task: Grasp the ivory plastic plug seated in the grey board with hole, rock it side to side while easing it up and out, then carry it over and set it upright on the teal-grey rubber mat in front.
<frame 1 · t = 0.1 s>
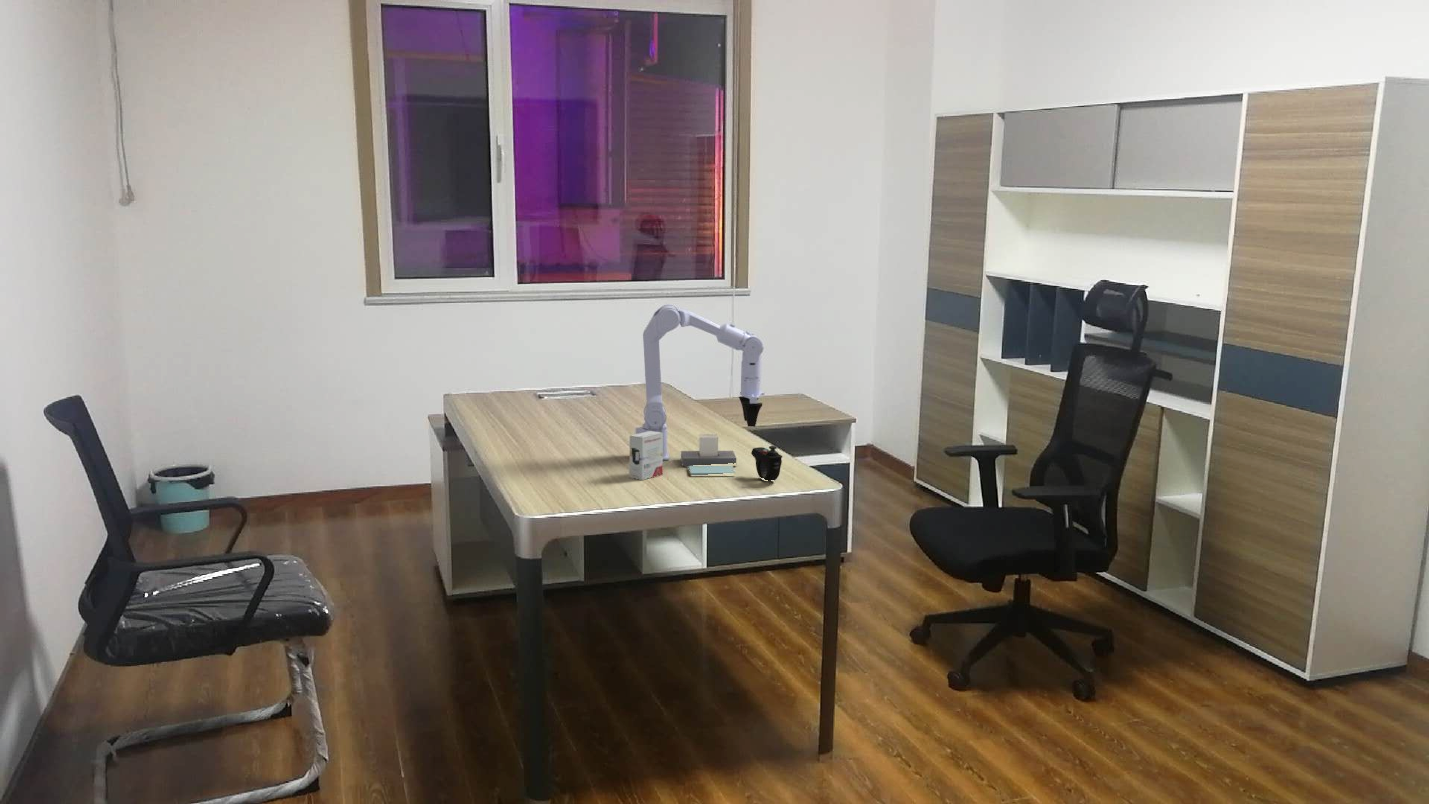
hand: (749, 423, 317), 10 cm above the table, tool pointing down, fingers open, 7 cm apart
mat: (711, 472, 301), on the table
ink box: (646, 476, 296), on the table
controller: (766, 480, 294), on the table
grey board with hole: (708, 463, 311), on the table
plug: (708, 449, 311), in the grey board with hole
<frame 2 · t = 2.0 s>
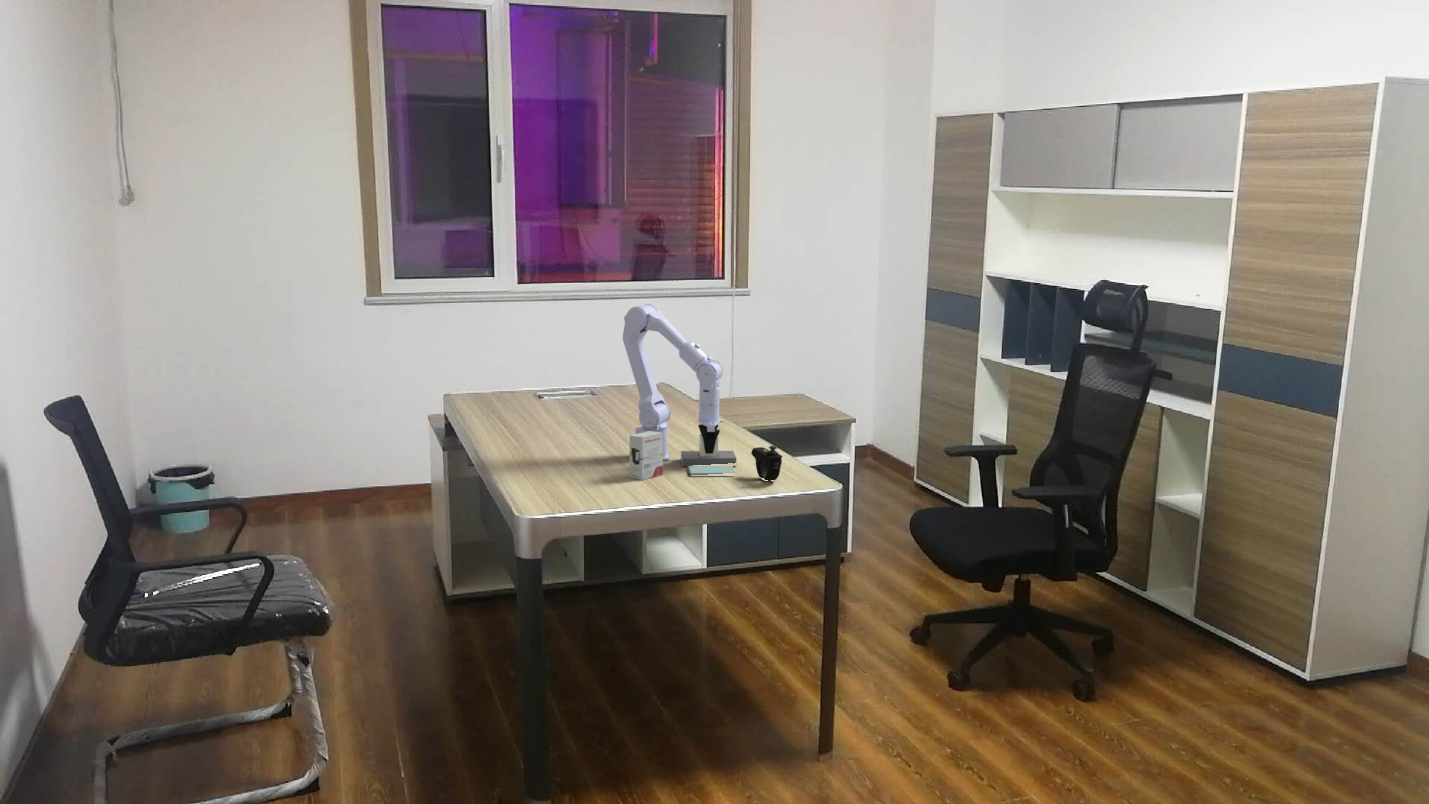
hand: (708, 451, 311), 3 cm above the table, tool pointing down, fingers closed on plug, 4 cm apart
plug: (708, 449, 311), in the grey board with hole, touching gripper
everything else where it was.
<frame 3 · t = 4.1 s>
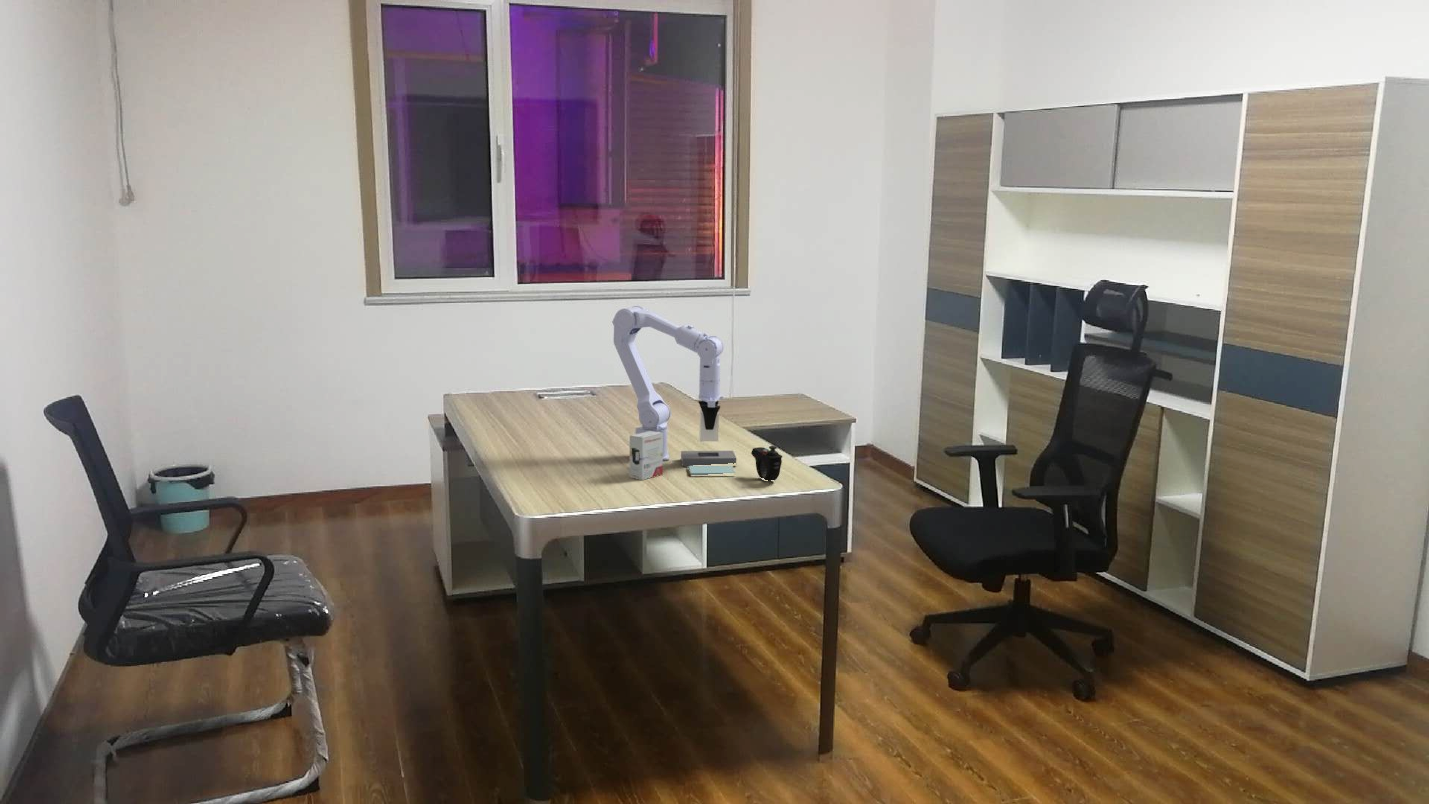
hand: (708, 427, 309), 10 cm above the table, tool pointing down, fingers closed on plug, 4 cm apart
plug: (709, 426, 309), point 11 cm above the table, touching gripper
everything else where it was.
when the fingers open (5 cm above the table, at t = 6.2 s): plug stays where it is, resting on mat.
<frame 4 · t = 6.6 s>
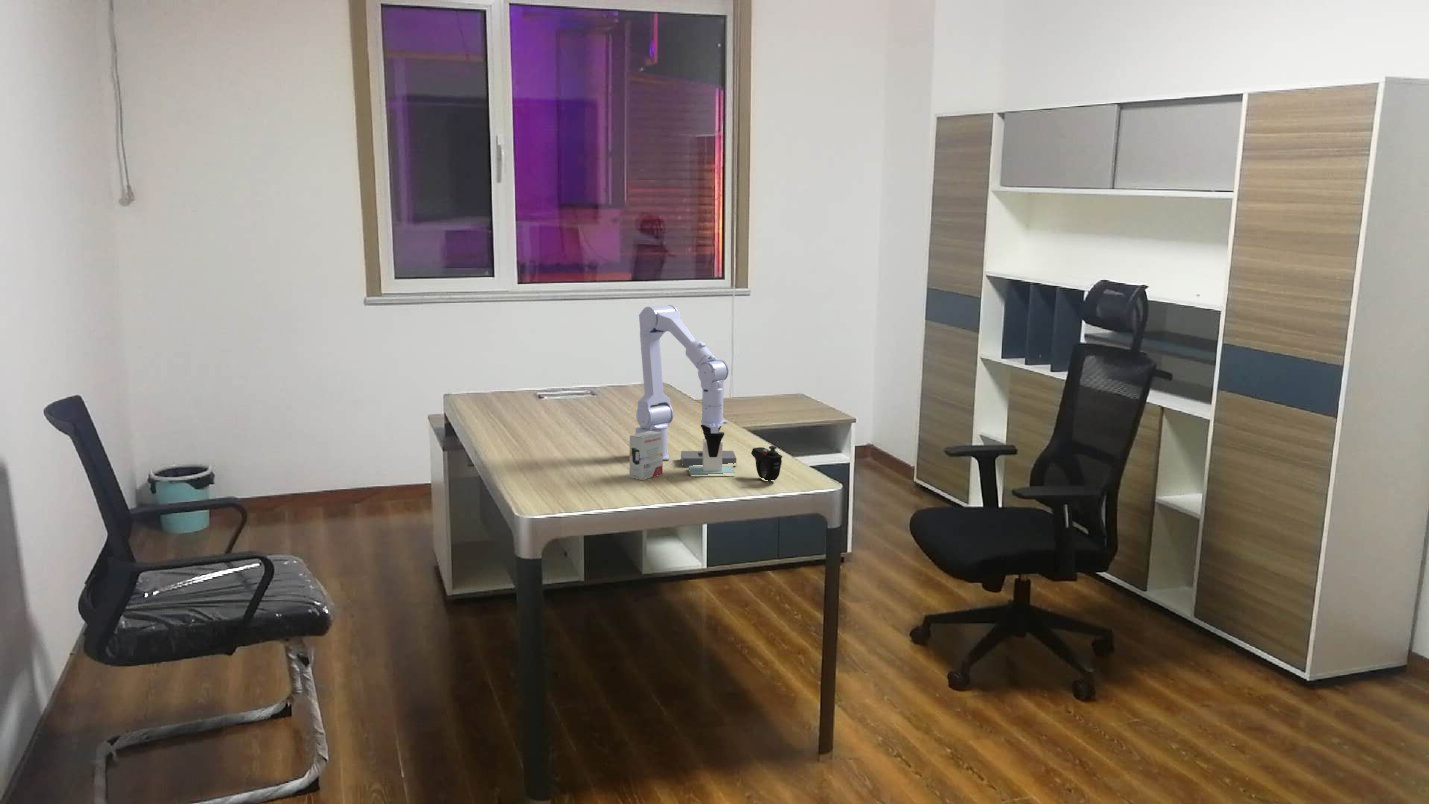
hand: (711, 453, 300), 5 cm above the table, tool pointing down, fingers open, 7 cm apart
plug: (712, 455, 300), on the mat, point 5 cm above the table
everything else where it was.
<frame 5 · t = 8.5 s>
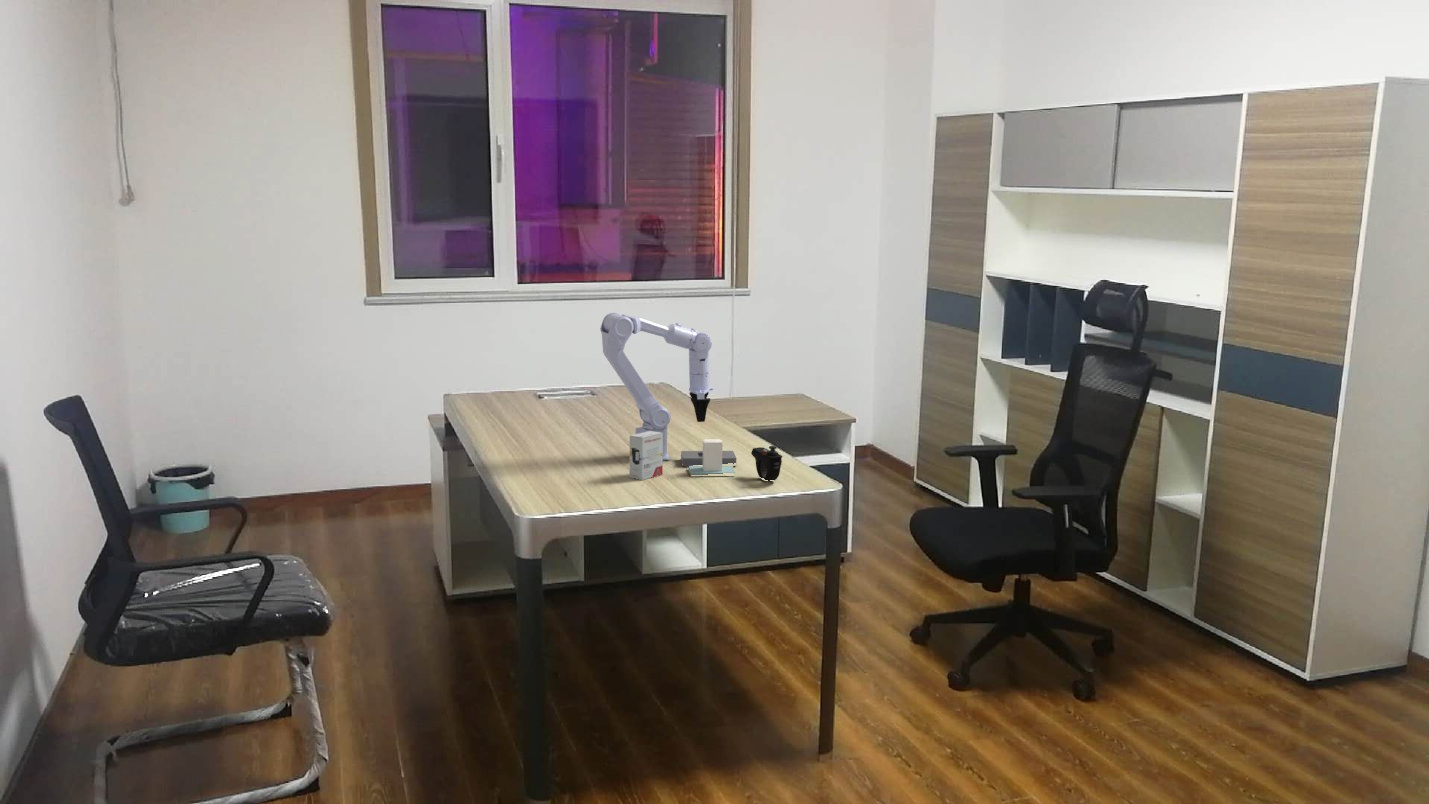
hand: (700, 418, 321), 10 cm above the table, tool pointing down, fingers open, 7 cm apart
nothing on the table moved.
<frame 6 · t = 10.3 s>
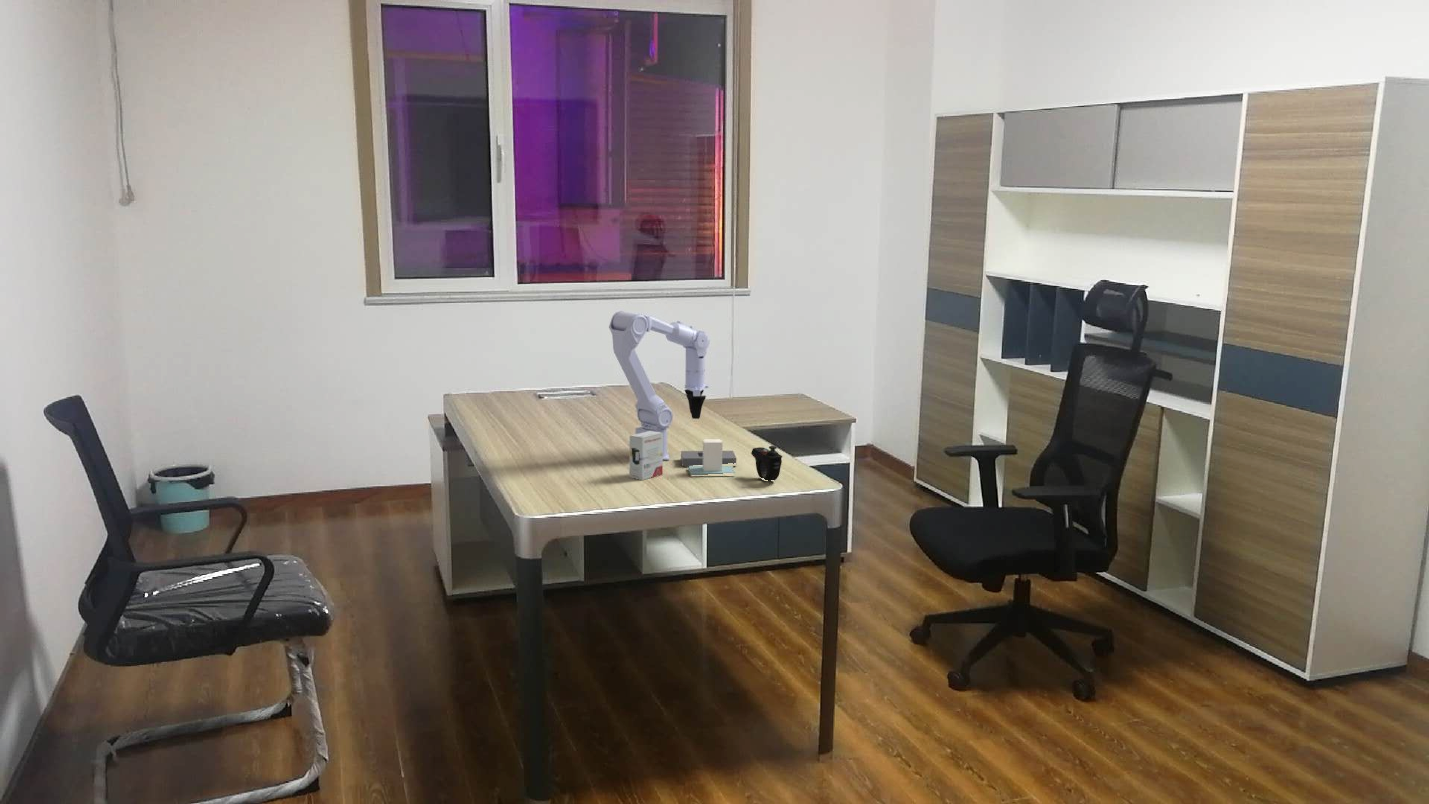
hand: (694, 415, 325), 10 cm above the table, tool pointing down, fingers open, 7 cm apart
nothing on the table moved.
at the end: plug inside the target area (0.2 cm from its centre), point 5.0 cm above the table; plug tilted 0°; the gripper is holding nothing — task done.
